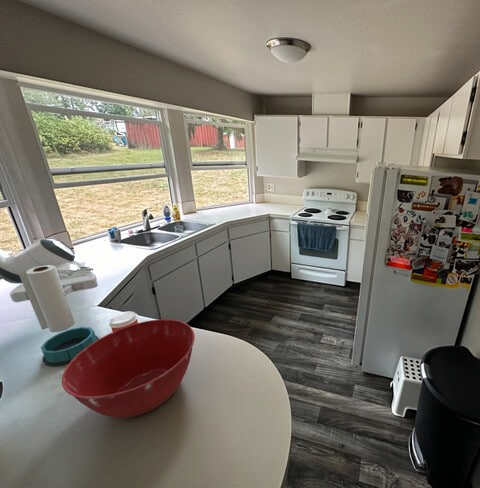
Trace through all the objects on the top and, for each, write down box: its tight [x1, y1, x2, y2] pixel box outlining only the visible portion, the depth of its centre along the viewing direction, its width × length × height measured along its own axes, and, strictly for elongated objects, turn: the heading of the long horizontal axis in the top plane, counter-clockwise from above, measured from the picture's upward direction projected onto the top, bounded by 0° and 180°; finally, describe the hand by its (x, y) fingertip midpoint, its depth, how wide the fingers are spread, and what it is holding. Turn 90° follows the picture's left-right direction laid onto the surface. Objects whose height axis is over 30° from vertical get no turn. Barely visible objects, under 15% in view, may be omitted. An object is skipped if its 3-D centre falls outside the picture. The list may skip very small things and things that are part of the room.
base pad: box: [40, 326, 100, 367], centre depth 86 cm, size 14×14×5 cm
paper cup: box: [108, 310, 139, 332], centre depth 85 cm, size 8×8×14 cm
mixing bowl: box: [61, 318, 196, 419], centre depth 70 cm, size 28×28×15 cm
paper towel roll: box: [18, 265, 76, 333], centre depth 79 cm, size 7×6×21 cm
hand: (51, 297), depth 79 cm, fingers closed on paper towel roll, 3 cm apart
